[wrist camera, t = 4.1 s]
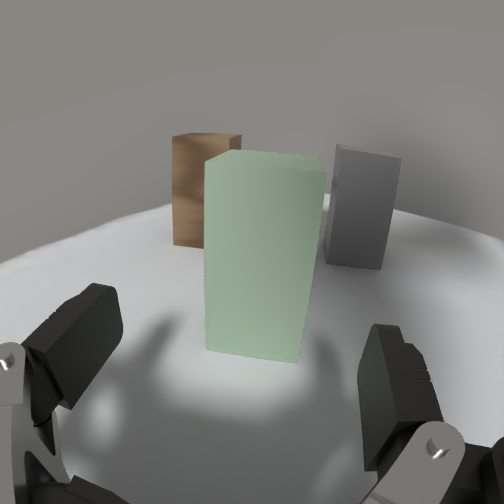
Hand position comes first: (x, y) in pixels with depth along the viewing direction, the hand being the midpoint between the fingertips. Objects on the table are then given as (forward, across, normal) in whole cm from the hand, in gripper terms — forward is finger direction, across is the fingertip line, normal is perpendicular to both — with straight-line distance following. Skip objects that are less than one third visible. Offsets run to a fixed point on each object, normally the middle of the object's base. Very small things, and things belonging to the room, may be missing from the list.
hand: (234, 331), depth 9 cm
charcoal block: (+21, -7, +6) cm, 23 cm away
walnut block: (+21, +7, +6) cm, 23 cm away
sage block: (+8, 0, +6) cm, 10 cm away
